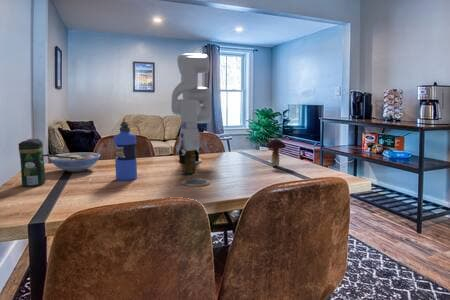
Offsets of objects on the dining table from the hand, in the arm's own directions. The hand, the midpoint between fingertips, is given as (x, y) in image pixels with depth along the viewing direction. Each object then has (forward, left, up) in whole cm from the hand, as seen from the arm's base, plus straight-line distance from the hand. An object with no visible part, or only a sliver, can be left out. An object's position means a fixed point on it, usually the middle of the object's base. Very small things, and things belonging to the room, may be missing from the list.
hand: (189, 162), depth 154 cm
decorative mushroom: (+25, +41, -6) cm, 49 cm away
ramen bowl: (-49, -28, -6) cm, 57 cm away
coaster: (+14, -12, -6) cm, 19 cm away
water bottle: (-16, -24, -6) cm, 29 cm away
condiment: (0, 0, -6) cm, 6 cm away
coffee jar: (-38, -53, -6) cm, 65 cm away
